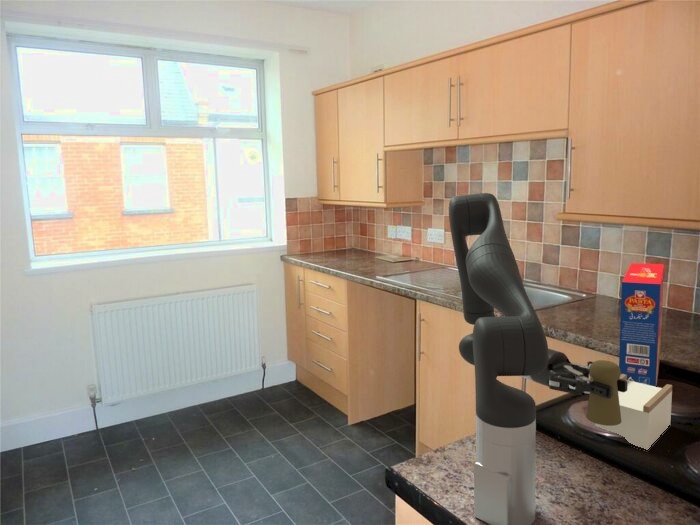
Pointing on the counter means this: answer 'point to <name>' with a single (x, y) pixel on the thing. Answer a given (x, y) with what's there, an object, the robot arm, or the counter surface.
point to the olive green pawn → (602, 407)
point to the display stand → (642, 413)
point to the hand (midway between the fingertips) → (618, 389)
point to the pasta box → (641, 322)
